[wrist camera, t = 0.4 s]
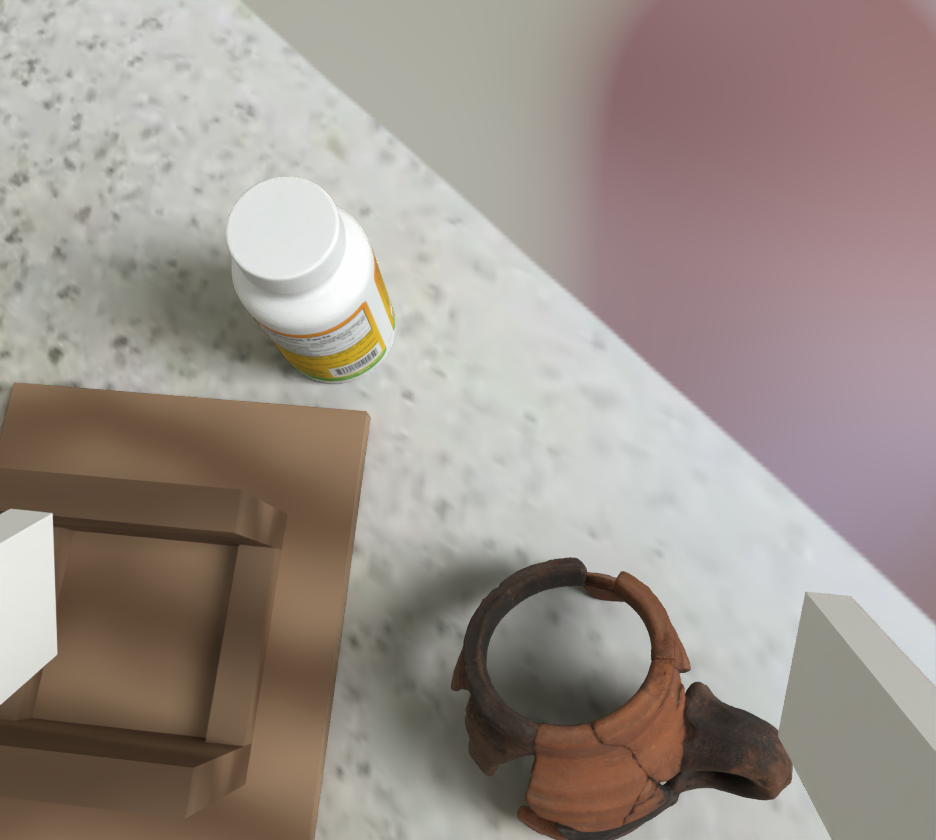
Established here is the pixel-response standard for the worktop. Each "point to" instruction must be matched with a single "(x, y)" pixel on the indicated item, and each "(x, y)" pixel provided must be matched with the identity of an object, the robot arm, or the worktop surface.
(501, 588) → the pottery mug
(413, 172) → the worktop surface
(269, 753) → the wooden cradle tray
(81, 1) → the worktop surface
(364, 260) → the supplement bottle
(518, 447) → the worktop surface
